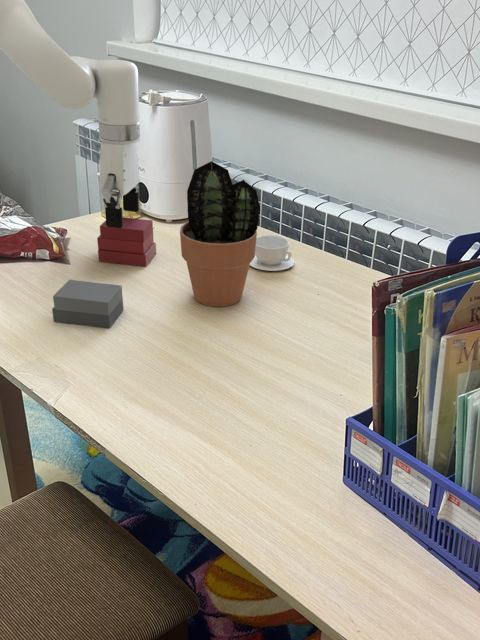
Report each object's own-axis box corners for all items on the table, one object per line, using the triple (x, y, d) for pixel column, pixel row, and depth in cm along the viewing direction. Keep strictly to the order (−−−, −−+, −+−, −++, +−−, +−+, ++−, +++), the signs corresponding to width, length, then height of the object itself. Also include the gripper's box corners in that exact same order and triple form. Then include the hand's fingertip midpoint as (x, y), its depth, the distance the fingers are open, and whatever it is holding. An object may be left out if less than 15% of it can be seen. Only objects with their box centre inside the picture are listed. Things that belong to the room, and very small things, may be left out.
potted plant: (216, 320, 121) (217, 179, 108) (166, 295, 129) (161, 160, 116) (269, 297, 130) (276, 164, 117) (219, 274, 137) (220, 148, 125)
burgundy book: (100, 237, 138) (99, 226, 137) (111, 227, 143) (110, 216, 142) (143, 242, 137) (143, 230, 136) (153, 231, 142) (152, 220, 141)
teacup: (236, 263, 143) (237, 242, 140) (265, 249, 150) (266, 229, 147) (275, 277, 138) (276, 255, 135) (303, 262, 144) (305, 241, 142)
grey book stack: (53, 322, 118) (49, 295, 115) (70, 303, 124) (67, 278, 122) (109, 328, 117) (107, 302, 114) (124, 310, 123) (122, 284, 120)
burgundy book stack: (98, 261, 141) (96, 238, 138) (110, 248, 146) (108, 226, 144) (146, 266, 139) (144, 243, 137) (156, 253, 145) (155, 231, 143)
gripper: (116, 120, 138) (119, 203, 146) (82, 140, 123) (88, 231, 132) (152, 123, 137) (154, 207, 145) (122, 144, 122) (126, 236, 131)
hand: (123, 218), depth 138 cm, fingers open, 9 cm apart
